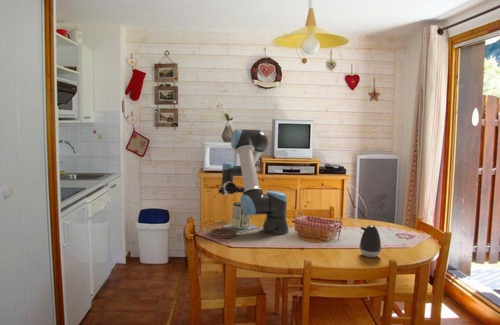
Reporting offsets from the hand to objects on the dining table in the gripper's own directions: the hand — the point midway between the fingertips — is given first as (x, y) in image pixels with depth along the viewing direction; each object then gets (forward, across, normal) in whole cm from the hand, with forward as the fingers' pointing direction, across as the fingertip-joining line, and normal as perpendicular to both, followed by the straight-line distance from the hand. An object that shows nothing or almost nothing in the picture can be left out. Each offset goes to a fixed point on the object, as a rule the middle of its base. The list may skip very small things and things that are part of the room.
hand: (237, 193), depth 246 cm
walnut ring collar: (+23, +13, -19) cm, 32 cm away
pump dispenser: (+68, -52, -19) cm, 88 cm away
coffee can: (+12, +1, -18) cm, 22 cm away
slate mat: (+10, 0, -19) cm, 21 cm away
